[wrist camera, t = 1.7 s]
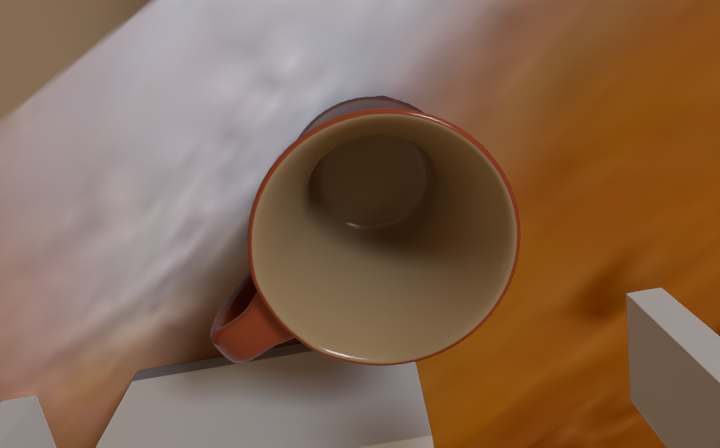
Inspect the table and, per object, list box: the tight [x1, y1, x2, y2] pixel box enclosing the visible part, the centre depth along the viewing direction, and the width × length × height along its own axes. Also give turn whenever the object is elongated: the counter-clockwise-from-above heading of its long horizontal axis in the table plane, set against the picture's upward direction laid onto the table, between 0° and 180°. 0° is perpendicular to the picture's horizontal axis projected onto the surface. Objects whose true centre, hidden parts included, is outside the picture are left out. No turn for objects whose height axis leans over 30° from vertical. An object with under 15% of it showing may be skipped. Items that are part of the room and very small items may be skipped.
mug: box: [210, 96, 520, 366], centre depth 26 cm, size 12×9×10 cm
